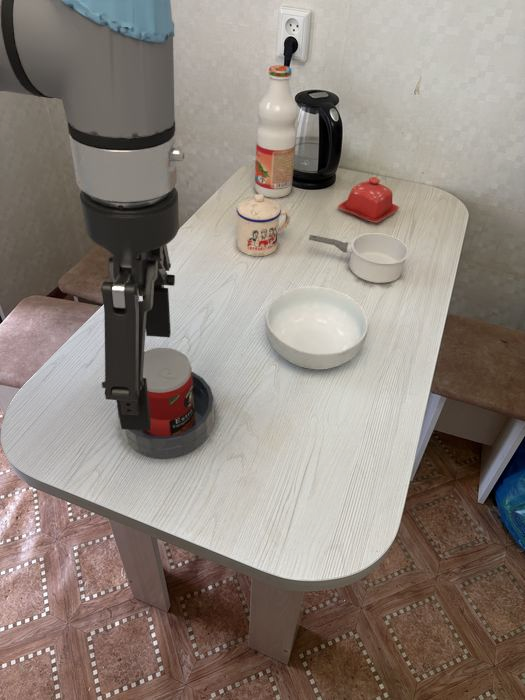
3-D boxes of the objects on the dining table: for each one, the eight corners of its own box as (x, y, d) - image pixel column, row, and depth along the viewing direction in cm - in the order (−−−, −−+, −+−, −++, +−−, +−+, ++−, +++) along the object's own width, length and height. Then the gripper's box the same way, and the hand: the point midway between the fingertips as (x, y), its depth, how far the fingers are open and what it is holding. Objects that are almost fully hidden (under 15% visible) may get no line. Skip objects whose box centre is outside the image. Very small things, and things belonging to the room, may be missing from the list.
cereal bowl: (259, 317, 92) (261, 285, 87) (348, 314, 93) (355, 283, 88) (269, 386, 80) (271, 354, 75) (371, 382, 81) (380, 350, 76)
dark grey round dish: (112, 457, 69) (107, 437, 66) (132, 385, 78) (128, 365, 75) (209, 461, 69) (208, 441, 66) (217, 389, 79) (216, 369, 76)
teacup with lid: (246, 261, 104) (247, 210, 96) (229, 239, 110) (229, 189, 102) (297, 250, 108) (302, 199, 100) (278, 229, 114) (282, 180, 106)
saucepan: (311, 245, 110) (314, 222, 106) (404, 260, 107) (410, 237, 103) (301, 274, 102) (304, 250, 98) (401, 292, 99) (408, 268, 95)
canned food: (181, 448, 70) (175, 396, 62) (130, 431, 72) (118, 379, 64) (204, 408, 75) (201, 355, 68) (155, 393, 77) (147, 341, 69)
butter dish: (360, 196, 128) (366, 163, 122) (400, 212, 123) (408, 178, 117) (334, 211, 121) (339, 177, 116) (375, 229, 116) (383, 194, 110)
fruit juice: (289, 200, 124) (299, 76, 105) (251, 196, 125) (255, 72, 106) (293, 183, 131) (304, 64, 112) (257, 179, 132) (262, 60, 113)
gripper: (150, 282, 30) (167, 479, 45) (194, 133, 49) (195, 306, 63) (23, 274, 30) (81, 475, 44) (115, 126, 48) (135, 302, 63)
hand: (148, 376), depth 54 cm, fingers open, 13 cm apart
